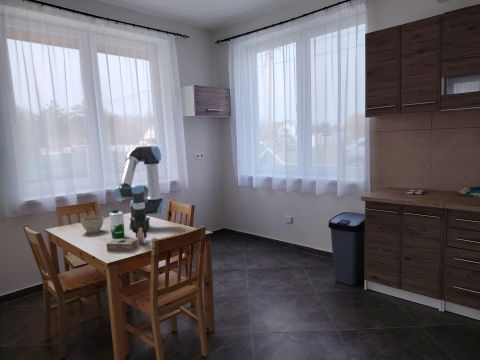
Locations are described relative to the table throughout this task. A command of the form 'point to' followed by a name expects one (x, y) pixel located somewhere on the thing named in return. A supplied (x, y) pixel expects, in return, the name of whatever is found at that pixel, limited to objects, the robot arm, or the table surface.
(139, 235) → the peg
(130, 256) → the table surface
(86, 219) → the planter bowl
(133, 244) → the hole block
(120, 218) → the milk carton
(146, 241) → the mat
